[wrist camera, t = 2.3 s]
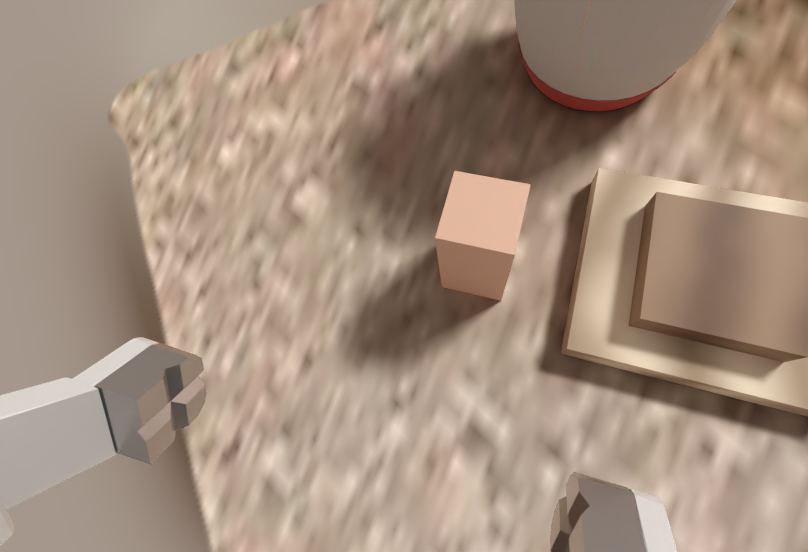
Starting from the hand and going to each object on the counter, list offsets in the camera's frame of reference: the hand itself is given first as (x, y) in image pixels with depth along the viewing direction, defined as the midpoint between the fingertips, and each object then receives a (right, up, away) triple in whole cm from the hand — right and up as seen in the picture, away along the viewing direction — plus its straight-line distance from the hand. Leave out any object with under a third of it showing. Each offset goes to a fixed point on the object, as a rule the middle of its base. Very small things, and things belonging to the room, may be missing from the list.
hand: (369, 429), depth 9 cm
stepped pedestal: (+21, +2, +22) cm, 30 cm away
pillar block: (+6, +4, +24) cm, 25 cm away
